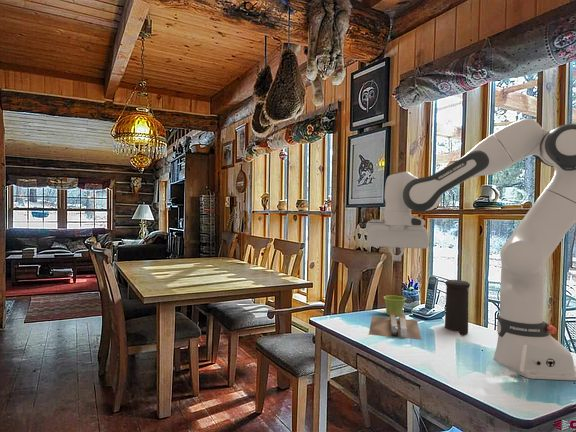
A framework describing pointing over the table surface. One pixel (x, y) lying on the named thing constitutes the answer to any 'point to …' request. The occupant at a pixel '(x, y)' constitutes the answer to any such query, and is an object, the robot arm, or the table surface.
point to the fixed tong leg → (402, 326)
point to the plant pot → (394, 304)
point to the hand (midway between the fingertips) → (396, 260)
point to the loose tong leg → (393, 324)
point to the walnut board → (384, 328)
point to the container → (457, 306)
